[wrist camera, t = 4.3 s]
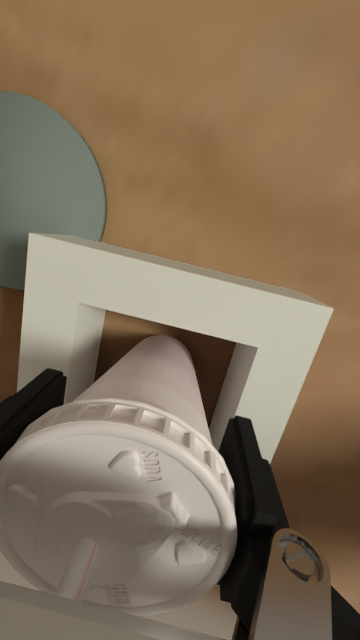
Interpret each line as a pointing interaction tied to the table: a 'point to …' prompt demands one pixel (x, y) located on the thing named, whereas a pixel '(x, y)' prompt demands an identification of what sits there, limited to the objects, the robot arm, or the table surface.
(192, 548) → the lidded cup with straw
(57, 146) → the coaster
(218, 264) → the table surface
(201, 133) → the table surface
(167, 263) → the holder
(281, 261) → the table surface
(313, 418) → the table surface
